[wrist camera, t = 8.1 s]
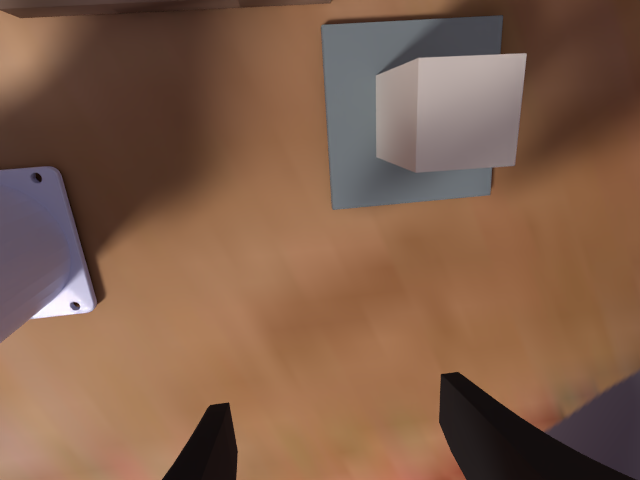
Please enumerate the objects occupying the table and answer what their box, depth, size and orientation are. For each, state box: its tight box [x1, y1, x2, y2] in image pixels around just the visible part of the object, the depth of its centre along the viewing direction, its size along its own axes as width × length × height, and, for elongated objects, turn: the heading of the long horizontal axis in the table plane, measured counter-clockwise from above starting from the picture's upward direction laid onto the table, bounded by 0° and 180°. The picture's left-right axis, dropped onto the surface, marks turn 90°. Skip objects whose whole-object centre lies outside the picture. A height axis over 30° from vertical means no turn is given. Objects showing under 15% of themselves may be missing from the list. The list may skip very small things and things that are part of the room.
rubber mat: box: [321, 15, 503, 210], centre depth 20 cm, size 9×9×1 cm
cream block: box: [376, 53, 527, 173], centre depth 17 cm, size 4×4×6 cm
